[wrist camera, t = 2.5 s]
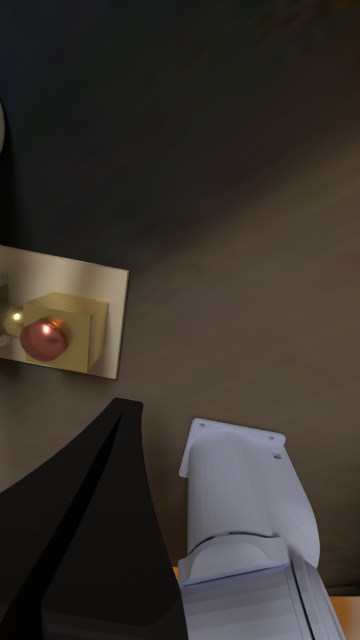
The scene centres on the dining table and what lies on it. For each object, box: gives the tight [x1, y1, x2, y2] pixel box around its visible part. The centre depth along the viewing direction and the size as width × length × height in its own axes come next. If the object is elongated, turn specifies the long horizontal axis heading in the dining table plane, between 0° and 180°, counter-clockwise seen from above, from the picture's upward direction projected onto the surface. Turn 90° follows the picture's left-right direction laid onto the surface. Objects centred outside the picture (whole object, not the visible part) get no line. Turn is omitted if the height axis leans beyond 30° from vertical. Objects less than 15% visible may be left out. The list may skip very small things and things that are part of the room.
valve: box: [0, 292, 109, 373], centre depth 17 cm, size 8×4×4 cm, turn 79°
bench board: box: [0, 245, 129, 379], centre depth 19 cm, size 19×10×1 cm, turn 79°
